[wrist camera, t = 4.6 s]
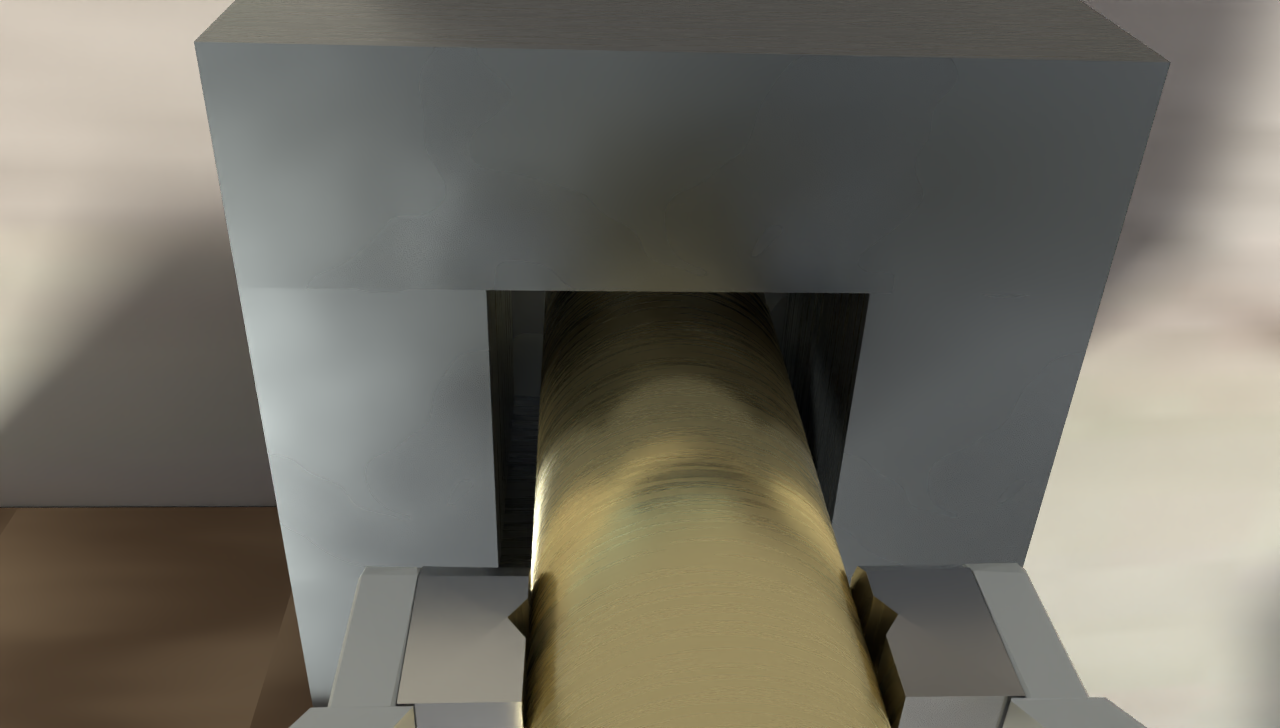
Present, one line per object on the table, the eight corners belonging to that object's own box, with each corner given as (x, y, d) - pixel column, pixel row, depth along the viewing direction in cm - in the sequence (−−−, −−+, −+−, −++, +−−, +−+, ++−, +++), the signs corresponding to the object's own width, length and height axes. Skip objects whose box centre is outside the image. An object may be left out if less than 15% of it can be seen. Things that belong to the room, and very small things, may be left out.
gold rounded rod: (763, 184, 15) (992, 831, 7) (745, 368, 17) (912, 1078, 8) (544, 182, 15) (503, 843, 7) (547, 367, 17) (514, 1091, 8)
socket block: (1000, -55, 15) (1170, 62, 10) (893, 483, 20) (980, 710, 15) (307, -73, 14) (193, 40, 10) (373, 483, 19) (314, 720, 15)
